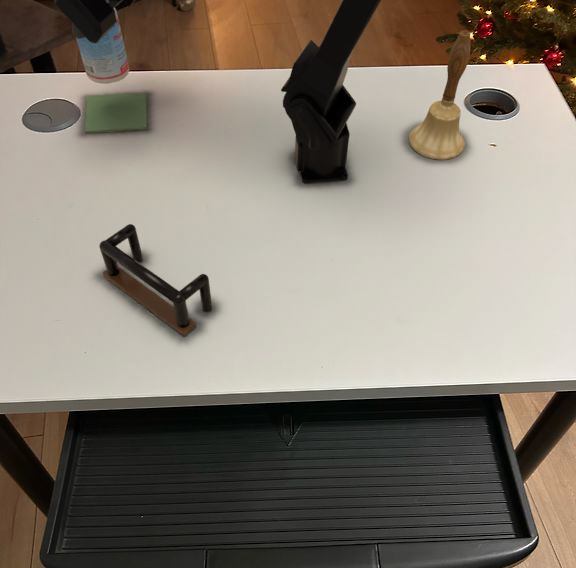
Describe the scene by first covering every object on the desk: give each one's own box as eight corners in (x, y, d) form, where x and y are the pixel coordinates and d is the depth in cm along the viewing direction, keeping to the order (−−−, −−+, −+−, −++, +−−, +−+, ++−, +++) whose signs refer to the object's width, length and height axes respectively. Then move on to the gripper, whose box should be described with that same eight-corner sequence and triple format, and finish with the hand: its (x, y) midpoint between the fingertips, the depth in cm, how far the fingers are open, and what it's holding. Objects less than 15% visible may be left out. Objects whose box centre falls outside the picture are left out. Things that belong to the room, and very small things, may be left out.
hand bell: (475, 152, 89) (511, 41, 76) (425, 165, 87) (453, 54, 74) (446, 120, 93) (475, 10, 80) (398, 132, 91) (420, 21, 78)
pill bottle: (134, 80, 86) (116, -6, 77) (91, 89, 85) (67, 2, 75) (124, 59, 89) (106, -27, 80) (83, 66, 88) (59, -19, 78)
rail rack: (136, 253, 76) (127, 218, 72) (216, 309, 72) (213, 276, 67) (103, 277, 74) (91, 242, 69) (184, 337, 69) (177, 304, 65)
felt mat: (146, 94, 95) (146, 92, 95) (146, 129, 90) (146, 127, 90) (88, 98, 94) (87, 95, 94) (85, 133, 89) (84, 131, 89)
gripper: (131, -153, 71) (77, -61, 83) (41, -95, 62) (-7, 1, 73) (199, -64, 77) (139, 12, 88) (125, 2, 67) (68, 78, 78)
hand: (88, 23), depth 82 cm, fingers closed on pill bottle, 6 cm apart
